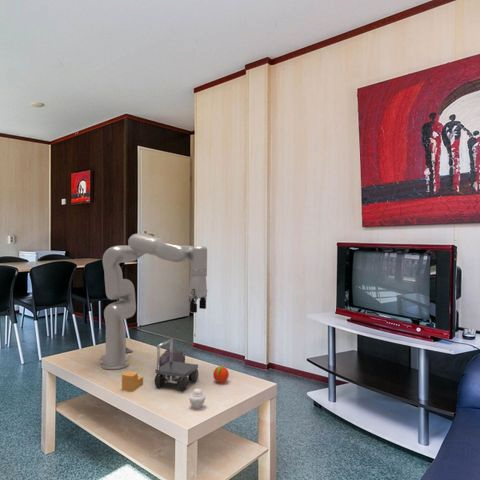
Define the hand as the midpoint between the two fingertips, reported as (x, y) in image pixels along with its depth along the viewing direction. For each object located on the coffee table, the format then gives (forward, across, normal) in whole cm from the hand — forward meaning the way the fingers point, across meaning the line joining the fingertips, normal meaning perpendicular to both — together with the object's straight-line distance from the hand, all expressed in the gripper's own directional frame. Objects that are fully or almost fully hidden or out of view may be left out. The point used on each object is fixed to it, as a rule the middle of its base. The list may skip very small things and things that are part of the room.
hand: (198, 310), depth 177 cm
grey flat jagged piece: (+32, -25, -60) cm, 72 cm away
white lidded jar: (+32, +27, +13) cm, 43 cm away
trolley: (+31, +10, -5) cm, 33 cm away
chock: (+31, +20, -21) cm, 43 cm away
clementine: (+32, +1, +12) cm, 34 cm away
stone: (+32, -10, -19) cm, 38 cm away
